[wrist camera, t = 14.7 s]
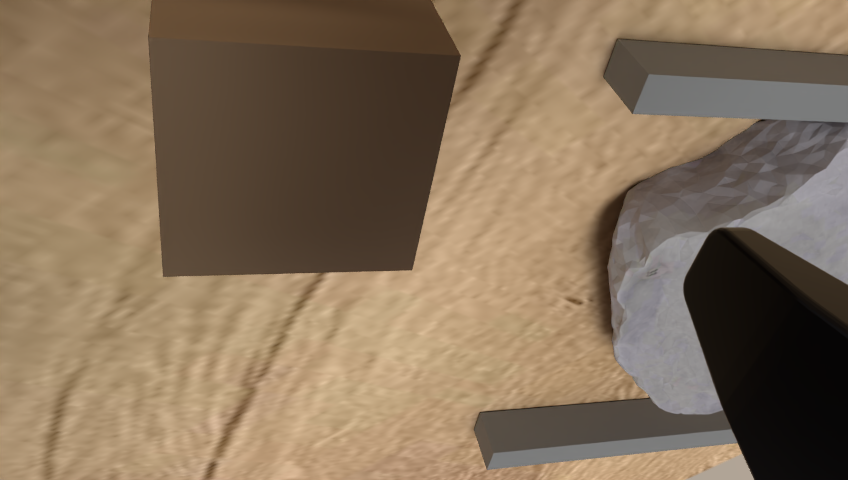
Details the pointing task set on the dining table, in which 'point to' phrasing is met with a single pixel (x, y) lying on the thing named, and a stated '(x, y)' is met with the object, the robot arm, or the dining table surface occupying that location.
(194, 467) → the dining table surface
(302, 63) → the block
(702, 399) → the stone block
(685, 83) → the frame
